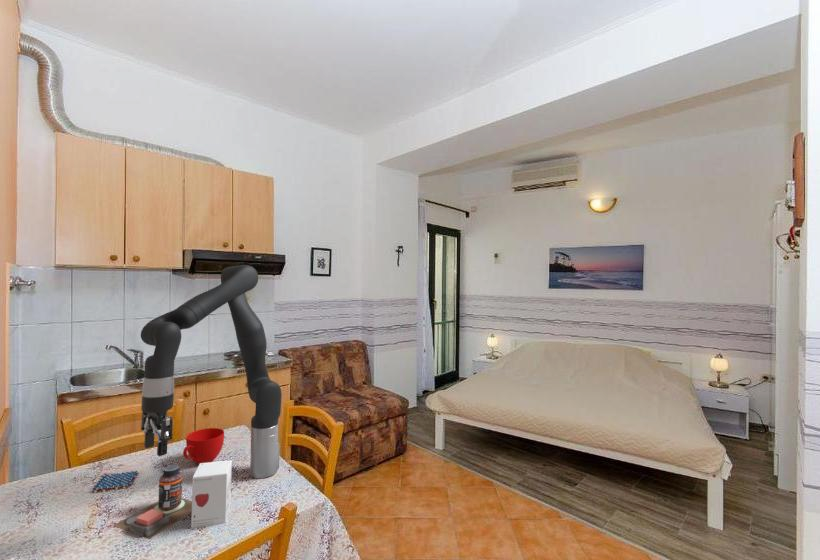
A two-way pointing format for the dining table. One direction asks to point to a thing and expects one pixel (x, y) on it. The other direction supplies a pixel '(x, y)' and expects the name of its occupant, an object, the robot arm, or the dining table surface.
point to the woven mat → (115, 481)
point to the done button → (149, 517)
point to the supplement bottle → (170, 488)
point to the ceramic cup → (204, 445)
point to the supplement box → (211, 493)
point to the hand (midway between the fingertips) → (155, 451)
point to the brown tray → (158, 526)
